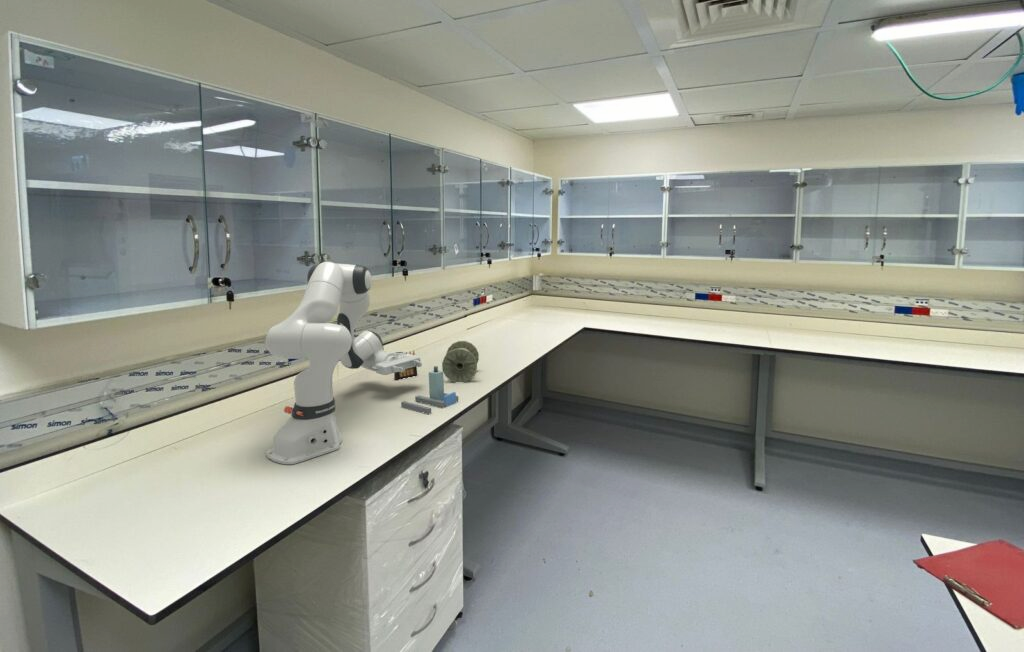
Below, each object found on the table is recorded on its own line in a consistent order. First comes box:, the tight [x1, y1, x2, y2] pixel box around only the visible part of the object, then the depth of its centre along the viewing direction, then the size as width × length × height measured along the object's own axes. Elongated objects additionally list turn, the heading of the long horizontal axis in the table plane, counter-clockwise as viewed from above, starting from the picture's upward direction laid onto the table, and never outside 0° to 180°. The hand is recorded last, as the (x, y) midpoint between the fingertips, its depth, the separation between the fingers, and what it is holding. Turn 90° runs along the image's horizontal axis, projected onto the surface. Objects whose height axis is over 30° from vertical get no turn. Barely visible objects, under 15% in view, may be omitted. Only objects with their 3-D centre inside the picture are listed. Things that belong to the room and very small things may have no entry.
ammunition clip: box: [393, 350, 418, 381], centre depth 232 cm, size 11×2×12 cm, turn 129°
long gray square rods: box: [400, 391, 459, 415], centre depth 198 cm, size 17×14×4 cm
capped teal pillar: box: [428, 365, 445, 401], centre depth 201 cm, size 4×4×14 cm
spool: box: [441, 340, 480, 383], centre depth 232 cm, size 16×15×15 cm
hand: (412, 367), depth 206 cm, fingers open, 8 cm apart
